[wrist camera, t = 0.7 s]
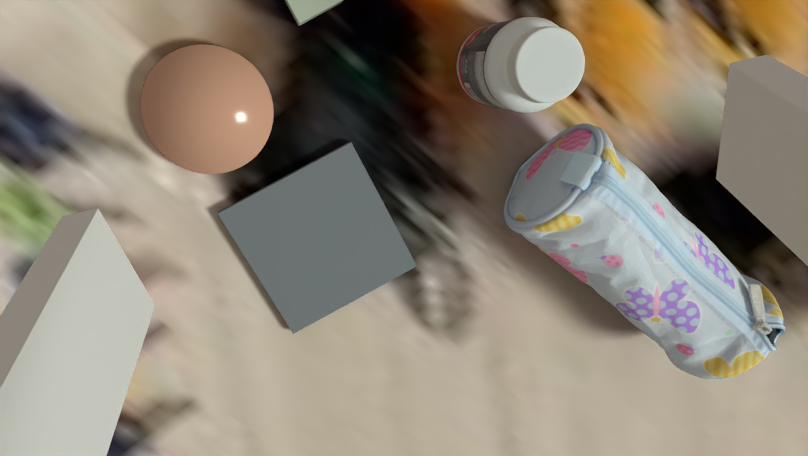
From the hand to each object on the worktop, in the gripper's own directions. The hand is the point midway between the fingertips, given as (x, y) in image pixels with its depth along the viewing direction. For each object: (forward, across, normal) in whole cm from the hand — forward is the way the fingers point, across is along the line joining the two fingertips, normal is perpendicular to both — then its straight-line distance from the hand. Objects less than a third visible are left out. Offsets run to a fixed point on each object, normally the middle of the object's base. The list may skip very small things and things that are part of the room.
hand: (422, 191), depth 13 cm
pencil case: (+26, -14, +24) cm, 38 cm away
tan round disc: (+27, +12, +7) cm, 30 cm away
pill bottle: (+29, -7, +10) cm, 31 cm away
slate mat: (+24, +7, +17) cm, 31 cm away
